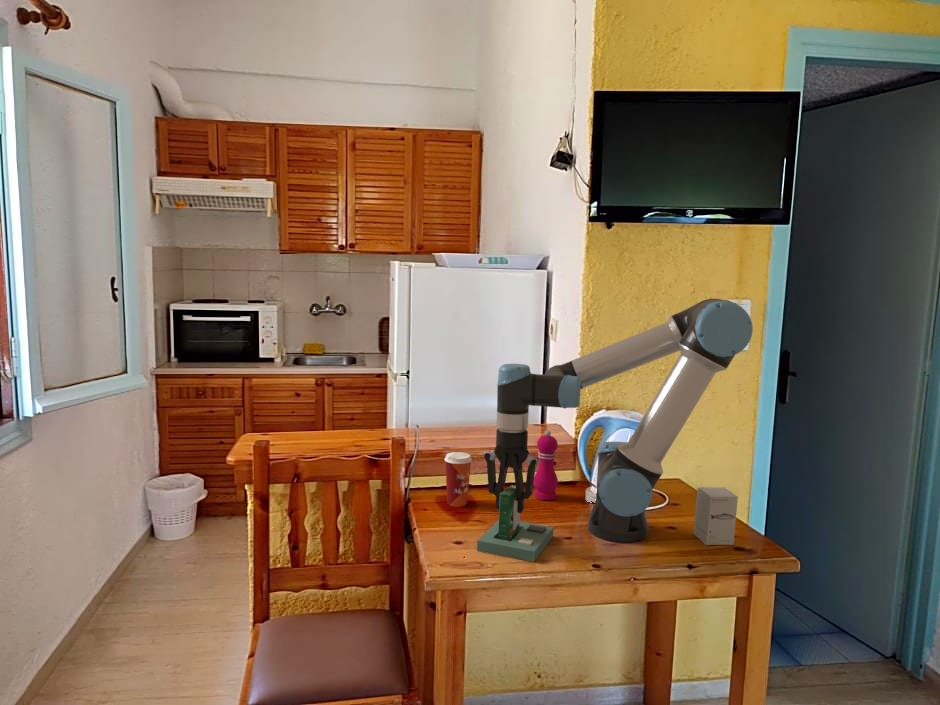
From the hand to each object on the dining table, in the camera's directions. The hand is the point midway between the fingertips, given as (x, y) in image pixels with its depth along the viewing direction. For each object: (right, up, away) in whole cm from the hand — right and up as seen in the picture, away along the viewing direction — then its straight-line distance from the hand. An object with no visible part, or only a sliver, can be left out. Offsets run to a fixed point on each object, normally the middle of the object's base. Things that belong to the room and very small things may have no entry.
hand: (509, 523), depth 162 cm
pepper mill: (+12, -1, +33) cm, 35 cm away
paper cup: (-13, -1, +26) cm, 30 cm away
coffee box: (0, -5, +1) cm, 5 cm away
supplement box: (+52, -6, +5) cm, 52 cm away
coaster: (+29, -2, +31) cm, 42 cm away
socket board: (+2, -5, 0) cm, 5 cm away
